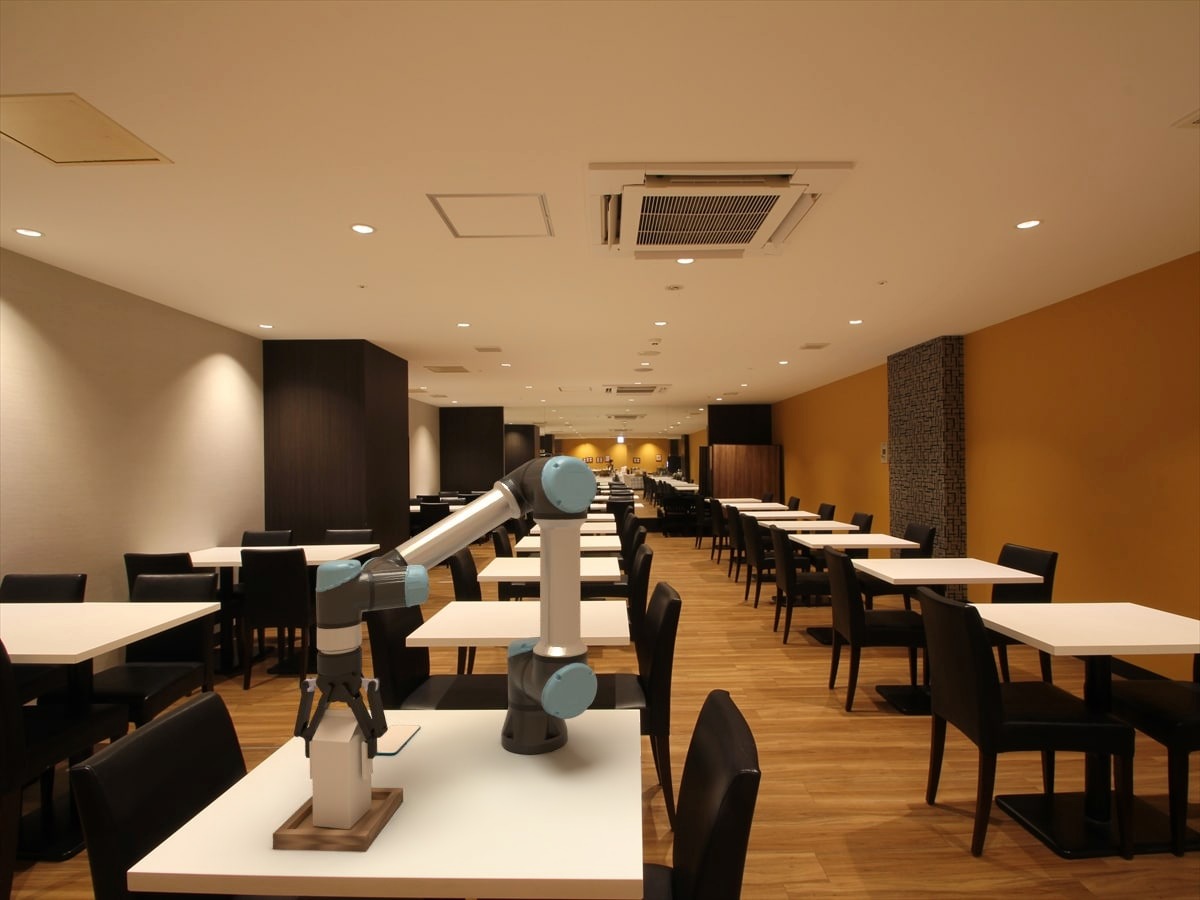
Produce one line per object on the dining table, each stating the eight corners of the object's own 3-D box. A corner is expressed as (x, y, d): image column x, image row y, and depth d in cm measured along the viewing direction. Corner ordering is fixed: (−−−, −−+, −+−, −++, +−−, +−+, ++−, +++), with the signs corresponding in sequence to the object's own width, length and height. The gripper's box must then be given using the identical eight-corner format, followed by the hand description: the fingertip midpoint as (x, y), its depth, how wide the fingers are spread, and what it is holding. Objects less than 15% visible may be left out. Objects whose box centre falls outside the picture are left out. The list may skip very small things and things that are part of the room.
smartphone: (390, 728, 159) (360, 756, 144) (390, 725, 160) (360, 752, 144) (422, 729, 159) (395, 757, 143) (422, 725, 159) (395, 753, 143)
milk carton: (349, 830, 112) (348, 718, 112) (312, 827, 113) (311, 716, 113) (371, 808, 119) (370, 703, 119) (336, 805, 120) (335, 701, 120)
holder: (403, 801, 123) (402, 788, 123) (365, 851, 107) (365, 835, 107) (321, 799, 124) (321, 786, 124) (272, 849, 108) (272, 833, 108)
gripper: (406, 642, 119) (408, 766, 119) (293, 642, 121) (295, 765, 121) (389, 654, 112) (392, 787, 111) (269, 654, 114) (271, 785, 113)
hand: (341, 775), depth 116 cm, fingers open, 9 cm apart
